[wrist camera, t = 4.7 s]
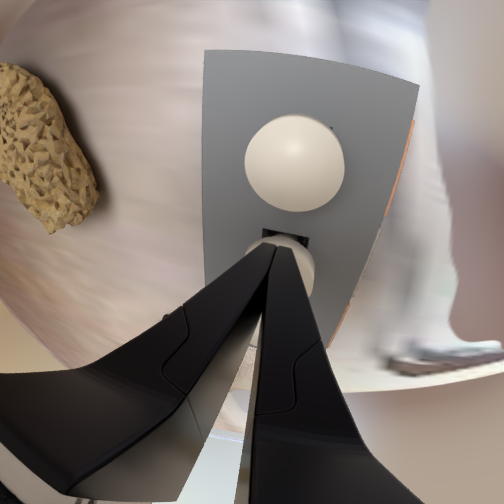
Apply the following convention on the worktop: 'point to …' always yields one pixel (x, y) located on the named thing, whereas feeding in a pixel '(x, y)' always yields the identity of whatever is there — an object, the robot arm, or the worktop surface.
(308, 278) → the button middle
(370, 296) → the worktop surface
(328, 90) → the board
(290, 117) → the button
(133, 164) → the worktop surface
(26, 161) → the sponge
